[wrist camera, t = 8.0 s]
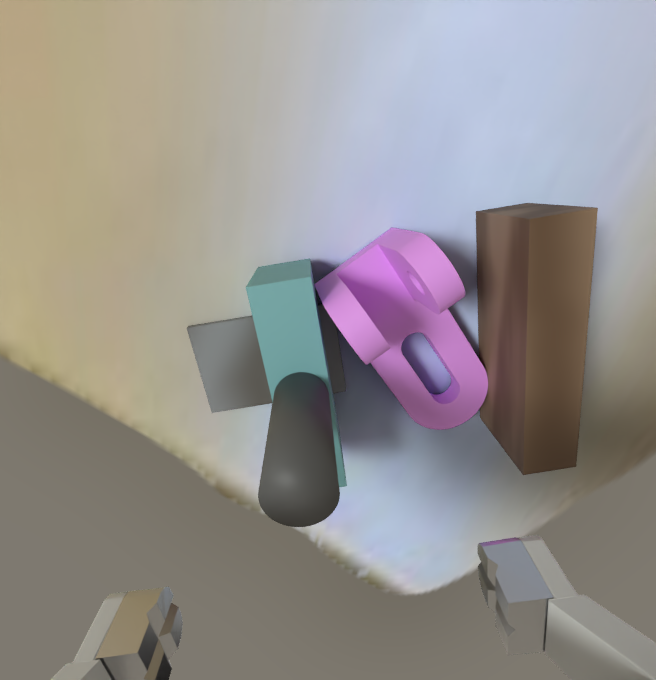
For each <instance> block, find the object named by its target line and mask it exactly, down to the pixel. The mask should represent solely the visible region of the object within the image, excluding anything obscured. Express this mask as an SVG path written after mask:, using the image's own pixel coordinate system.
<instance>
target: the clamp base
mask: <svg viewBox="0 0 656 680" xmlns="http://www.w3.org/2000/svg"><path fill="white" fill-rule="evenodd" d="M597 210H598V208H593V207H578V206H564V205H549V204H535V203H524V204H518V205H512V206H506V207H500V208H494V209H488V210H482V211H476V237H477V286H478V336H479V360H480V362H481V363H482V365H483V366H484V368H485V371H486V373H487V377H488V390H487V395H486V397H485V400H484V402H483V404H482V406H481V407H480V418H481V420H482V421H483V422H484V424H485V425H486V426H487V428H488V429H489V430H490V432H491V433H492V434H493V436H494V437H495V438H496V440H497V441H498V442H499V444H500V445H501V446H502V448H503V449H504V450H505V452H506V453H507V454H508V456H509V457H510V458H511V460H512V461H513V462H514V464H515V465H516V466H517V467H518V469H519V470H520V471H521V473H522V474H523V475H526V474H532V473H539V472H545V471H551V470H558V469H564V468H570V467H576V461H577V449H578V437H579V425H580V413H581V401H582V389H583V377H584V365H585V353H586V341H587V330H588V318H589V306H590V294H591V282H592V270H593V258H594V246H595V234H596V222H597ZM318 308H319V314H320V320H321V326H322V332H323V338H324V344H325V350H326V356H327V361H328V367H329V373H330V379H331V385H332V391H333V393H338V392H344V391H346V385H345V379H344V373H343V366H342V360H341V353H340V347H339V340H338V334H337V328H336V324H335V323H334V321H333V320H332V318H331V317H330V315H329V314H328V312H327V311H326V309H325V307H324V305H323V304H321V305H318ZM187 331H188V334H189V337H190V341H191V344H192V348H193V351H194V354H195V358H196V361H197V364H198V368H199V371H200V374H201V378H202V381H203V384H204V388H205V391H206V395H207V398H208V401H209V405H210V408H211V411H212V413H214V412H220V411H226V410H232V409H238V408H245V407H251V406H257V405H263V404H269V403H273V402H272V398H271V393H270V389H269V385H268V380H267V376H266V372H265V368H264V363H263V359H262V355H261V350H260V346H259V342H258V337H257V333H256V329H255V325H254V320H253V316H247V317H241V318H235V319H229V320H223V321H216V322H210V323H204V324H198V325H192V326H188V327H187Z"/></svg>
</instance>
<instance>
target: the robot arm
mask: <svg viewBox="0 0 656 680" xmlns="http://www.w3.org/2000/svg"><path fill="white" fill-rule="evenodd" d="M478 555H479V558H480V560H481V563H480V564H479V566H478V574H479V580H480V585H481V589H482V592H483V595H484V598H485V601H486V603H487V606H488V608H490V609H491V610H492V611H493V612H494V613H495V615H496V628H497V631H498V633H499V635H500V638H501V640H502V643H503V645H504V648H505V650H506V652H507V655H518V654H529V653H539V652H545V655H546V656H547V657H548V658H549V659H550V660H551V661H552V662H553V663H554V664H555V665H556V666H558V668H560V670H561V671H562V672H564V674H565V675H567V676H568V677H569V678H570V679H571V680H656V643H655V642H654V641H652V640H651V639H649V638H648V637H646V636H645V635H643V634H642V633H640V632H639V631H637V630H636V629H634V628H633V627H632V626H630V625H629V624H627V623H626V622H624V621H623V620H621V619H620V618H618V617H617V616H615V615H614V614H612V613H611V612H609V611H608V610H606V609H605V608H604V607H602V606H601V605H599V604H598V603H596V602H595V601H593V600H592V599H590V598H589V597H587V596H586V595H578V594H577V592H576V591H575V589H574V588H573V586H572V584H571V583H570V581H569V580H568V578H567V577H566V575H565V574H564V572H563V570H562V569H561V567H560V566H559V564H558V563H557V561H556V559H555V558H554V557H553V555H552V553H551V552H550V550H549V548H548V547H547V545H546V544H545V542H544V541H543V539H542V538H541V537H540V536H539V535H533V536H526V537H519V538H516V537H515V538H509V539H502V540H496V541H489V542H483V543H479V544H478ZM172 598H173V594H172V592H171V590H170V588H169V587H165V588H156V589H147V590H137V591H129V592H121V593H113V594H110V595H109V596H108V597H107V598H106V599H105V600H104V602H103V604H102V606H101V608H100V610H99V612H98V614H97V616H96V618H95V619H94V621H93V623H92V625H91V628H90V629H89V631H88V633H87V635H86V637H85V639H84V641H83V643H82V645H81V647H80V649H79V651H78V653H77V655H76V657H75V659H74V661H73V663H69V664H66V665H65V666H64V667H63V668H62V669H61V670H60V671H59V672H58V673H57V674H56V675H55V676H54V677H53V678H52V679H51V680H169V677H170V674H171V670H172V667H171V664H170V662H169V658H170V657H171V656H172V655H173V654H174V653H175V652H176V650H177V649H178V646H179V643H180V639H181V634H182V616H181V612H180V610H179V608H178V607H177V606H176V605H174V604H173V603H171V601H172Z"/></svg>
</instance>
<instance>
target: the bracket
mask: <svg viewBox="0 0 656 680" xmlns="http://www.w3.org/2000/svg"><path fill="white" fill-rule="evenodd" d="M314 285H315V287H316V290H317V292H318V294H319V297H320V299H321V301H322V303H323V305H324V307H325V309H326V311H327V312H328V314H329V315H330V317H331V318H332V320H333V321H334V323H335V324H336V326H337V327H338V329H339V330H340V331H341V333H342V334H343V336H344V337H345V338H346V340H347V341H348V343H349V344H350V345H351V347H352V348H353V349H354V351H355V352H356V353H357V355H358V356H359V357H360V358H361V360H362V361H363V362H364V363H365V364H366V365H367V364H369V363H371V364H372V365H373V367H374V368H375V369H376V371H377V372H378V374H379V375H380V376H381V378H382V379H383V380H384V382H385V383H386V384H387V386H388V387H389V388H390V390H391V391H392V393H393V394H394V395H395V397H396V398H397V399H398V401H399V402H400V403H401V405H402V406H403V407H404V409H405V410H406V412H407V413H408V414H409V416H410V417H411V418H412V419H413V420H414V421H415V422H417V423H418V424H420V425H421V426H424V427H426V428H430V429H437V430H443V429H449V428H453V427H456V426H458V425H461V424H463V423H464V422H466V421H467V420H469V419H470V418H471V417H472V416H473V415H475V414H476V412H477V411H478V410H479V409H480V407H481V406H482V404H483V402H484V400H485V397H486V395H487V390H488V377H487V373H486V371H485V368H484V366H483V365H482V363H481V362H480V360H479V358H478V357H477V355H476V353H475V352H474V350H473V349H472V347H471V345H470V344H469V342H468V341H467V339H466V337H465V336H464V334H463V332H462V331H461V329H460V328H459V326H458V324H457V323H456V321H455V319H454V318H453V316H452V315H451V313H450V311H449V310H448V308H449V307H450V306H452V305H453V304H455V303H456V302H458V301H459V300H460V299H462V298H463V297H464V296H465V289H464V286H463V283H462V281H461V279H460V277H459V275H458V273H457V272H456V270H455V268H454V267H453V265H452V264H451V262H450V261H449V259H448V258H447V257H446V255H445V254H444V253H443V251H442V250H441V249H440V248H439V247H438V246H437V245H436V244H435V243H434V242H433V241H432V240H431V239H430V238H429V237H428V236H426V235H425V234H423V233H419V232H414V231H408V230H403V229H397V228H390V229H389V230H388V231H386V232H385V233H384V234H382V235H381V236H380V237H378V238H377V239H375V240H374V241H373V242H371V243H370V244H369V245H367V246H366V247H365V248H363V249H362V250H360V251H359V252H358V253H356V254H355V255H354V256H352V257H351V258H350V259H348V260H347V261H345V262H344V263H343V264H341V265H340V266H339V267H337V268H336V269H334V270H333V271H332V272H330V273H329V274H328V275H326V276H325V277H324V278H322V279H321V280H319V281H318V282H317V283H315V284H314ZM416 332H420V333H423V335H424V336H425V338H426V339H427V341H428V342H429V344H430V345H431V347H432V348H433V350H434V351H435V353H436V354H437V356H438V357H439V359H440V360H441V362H442V363H443V365H444V366H445V368H446V369H447V371H448V372H449V374H450V376H451V384H450V386H449V388H448V389H447V390H446V391H445V392H443V393H441V394H437V395H435V394H431V393H429V392H428V390H427V389H426V387H425V386H424V385H423V383H422V382H421V380H420V379H419V377H418V376H417V375H416V373H415V372H414V370H413V369H412V367H411V366H410V364H409V363H408V362H407V360H406V359H405V357H404V356H403V354H402V351H401V346H402V342H403V341H404V339H405V338H406V337H407V336H408V335H410V334H412V333H416Z"/></svg>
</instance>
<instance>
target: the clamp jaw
mask: <svg viewBox="0 0 656 680" xmlns="http://www.w3.org/2000/svg"><path fill="white" fill-rule="evenodd" d="M246 290H247V294H248V299H249V303H250V307H251V312H252V316H253V320H254V325H255V329H256V333H257V337H258V342H259V346H260V350H261V355H262V359H263V363H264V368H265V372H266V376H267V380H268V385H269V389H270V393H271V398H272V402H273V404H272V410H271V416H270V423H269V429H268V435H267V441H266V448H265V454H264V460H263V467H262V473H261V479H260V486H259V492H258V498H259V503H260V506H261V508H262V509H263V511H264V512H265V513H266V514H267V515H268V516H269V517H270V518H271V519H272V520H274V521H276V522H278V523H280V524H283V525H286V526H292V527H305V526H310V525H314V524H317V523H319V522H321V521H323V520H324V519H326V518H327V517H328V516H329V515H330V514H331V513H332V512H333V511H334V510H335V508H336V506H337V504H338V502H339V496H340V492H339V487H344V486H347V484H346V476H345V469H344V461H343V454H342V447H341V439H340V432H339V426H338V421H337V415H336V409H335V403H334V397H333V391H332V385H331V379H330V373H329V367H328V361H327V356H326V350H325V344H324V338H323V332H322V326H321V320H320V314H319V308H318V302H317V296H316V291H315V285H314V279H313V273H312V267H311V261H310V259H305V260H299V261H292V262H286V263H280V264H274V265H268V266H262V267H258V268H257V270H256V272H255V273H254V275H253V276H252V278H251V280H250V281H249V283H248V285H247V286H246Z"/></svg>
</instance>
